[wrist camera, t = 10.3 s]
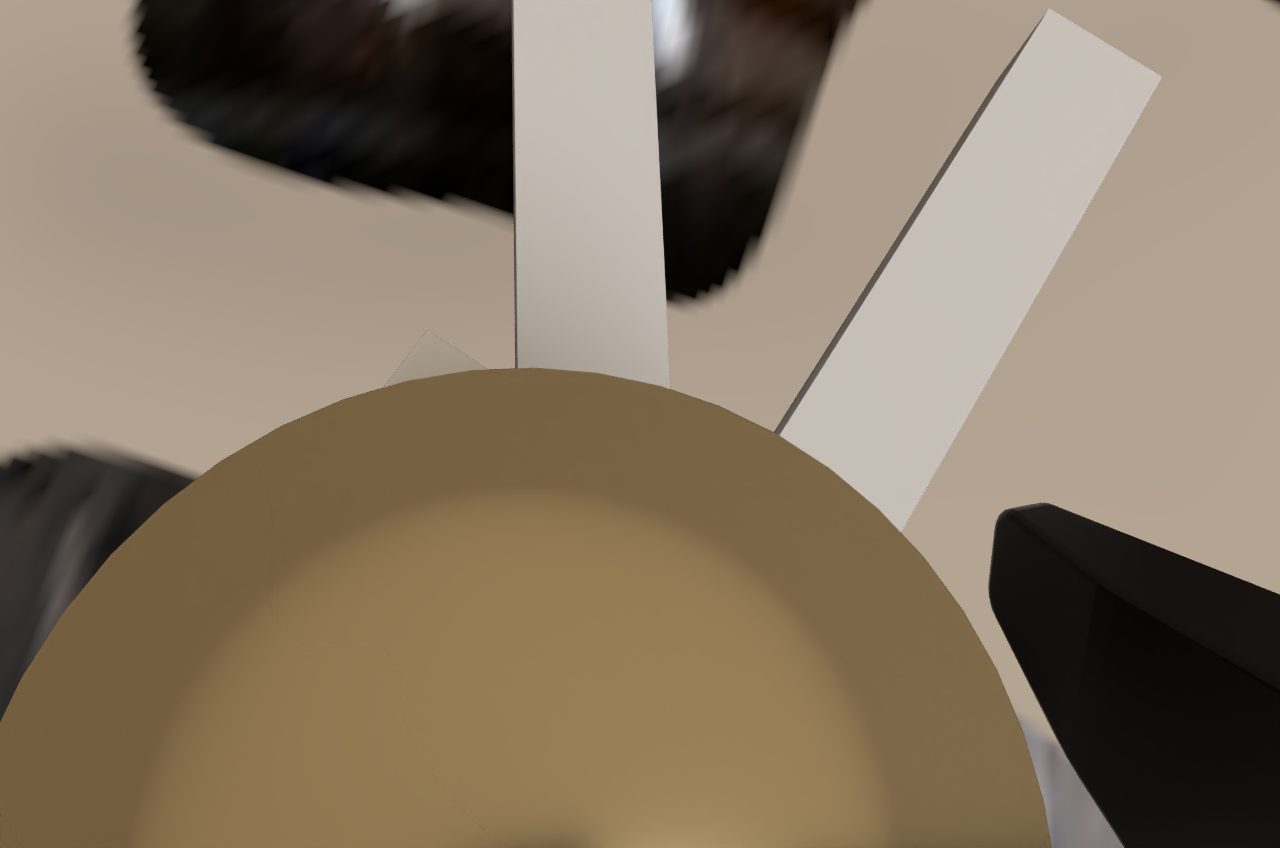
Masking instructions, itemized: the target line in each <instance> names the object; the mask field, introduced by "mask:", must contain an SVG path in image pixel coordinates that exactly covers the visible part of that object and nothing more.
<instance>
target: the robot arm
mask: <svg viewBox="0 0 1280 848" xmlns="http://www.w3.org/2000/svg"><path fill="white" fill-rule="evenodd" d="M988 589H989V598H990V603H991V606H992V610H993V612H994V614H995V617H996V619H997V621H998V623H999V625H1000V627H1001V629H1002V631H1003V633H1004V635H1005V637H1006V639H1007V641H1008V643H1009V645H1010V647H1011V649H1012V651H1013V653H1014V655H1015V657H1016V659H1017V661H1018V663H1019V665H1020V667H1021V669H1022V671H1023V673H1024V675H1025V677H1026V679H1027V681H1028V683H1029V685H1030V687H1031V689H1032V691H1033V692H1034V694H1035V697H1036V699H1037V701H1038V703H1039V704H1040V707H1041V708H1042V711H1043V713H1044V714H1045V717H1046V719H1047V721H1048V723H1049V725H1050V727H1051V729H1052V731H1053V733H1054V735H1055V736H1056V738H1057V740H1058V742H1059V744H1060V746H1061V748H1062V749H1063V751H1064V753H1065V755H1066V757H1067V759H1068V760H1069V762H1070V763H1071V765H1072V767H1073V768H1074V770H1075V772H1076V773H1077V775H1078V776H1079V778H1080V780H1081V781H1082V783H1083V784H1084V786H1085V788H1086V789H1087V791H1088V792H1089V794H1090V795H1091V797H1092V798H1093V800H1094V802H1095V803H1096V805H1097V806H1098V808H1099V809H1100V811H1101V812H1102V814H1103V815H1104V817H1105V819H1106V820H1107V822H1108V823H1109V825H1110V826H1111V828H1112V829H1113V831H1114V832H1115V834H1116V836H1117V837H1118V839H1119V840H1120V842H1121V843H1122V845H1123V846H1124V848H1280V595H1279V594H1277V593H1275V592H1272V591H1269V590H1267V589H1265V588H1262V587H1259V586H1257V585H1254V584H1252V583H1249V582H1247V581H1244V580H1242V579H1239V578H1236V577H1234V576H1232V575H1229V574H1227V573H1224V572H1221V571H1219V570H1216V569H1214V568H1211V567H1209V566H1206V565H1204V564H1201V563H1199V562H1196V561H1194V560H1191V559H1189V558H1186V557H1184V556H1181V555H1178V554H1176V553H1173V552H1171V551H1168V550H1166V549H1163V548H1161V547H1158V546H1156V545H1153V544H1150V543H1148V542H1145V541H1143V540H1140V539H1138V538H1135V537H1133V536H1130V535H1128V534H1125V533H1122V532H1120V531H1118V530H1115V529H1113V528H1110V527H1108V526H1105V525H1103V524H1100V523H1097V522H1095V521H1092V520H1090V519H1087V518H1085V517H1082V516H1080V515H1077V514H1075V513H1072V512H1069V511H1067V510H1064V509H1062V508H1059V507H1057V506H1054V505H1052V504H1049V503H1037V504H1031V505H1026V506H1021V507H1016V508H1010V509H1006V510H1005V511H1003V512H1002V513H1001V514H1000V515H999V516H998V519H997V521H996V525H995V531H994V540H993V548H992V557H991V567H990V575H989V588H988Z"/></svg>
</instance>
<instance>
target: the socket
mask: <svg viewBox="0 0 1280 848" xmlns="http://www.w3.org/2000/svg"><path fill="white" fill-rule="evenodd" d="M511 1H512V95H513V188H514V277H515V279H514V281H515V368H545V369H557V370H569V371H581V372H593V373H601V374H606V375H611V376H616V377H620V378H625V379H630V380H635V381H639V382H644V383H649V384H654V385H659V386H662V387H665V388H668V389H670V371H669V349H668V330H667V310H666V289H665V269H664V249H663V230H662V210H661V190H660V170H659V150H658V130H657V110H656V90H655V70H654V50H653V30H652V10H651V0H511ZM1161 78H1162V77H1161V76H1159V75H1158V74H1156V73H1155V72H1153V71H1151V70H1150V69H1148V68H1146V67H1145V66H1143V65H1141V64H1140V63H1138V62H1136V61H1135V60H1133V59H1131V58H1130V57H1128V56H1127V55H1125V54H1123V53H1122V52H1120V51H1118V50H1117V49H1115V48H1114V47H1112V46H1110V45H1109V44H1107V43H1105V42H1104V41H1102V40H1100V39H1099V38H1097V37H1096V36H1094V35H1092V34H1090V33H1089V32H1087V31H1085V30H1084V29H1082V28H1081V27H1079V26H1077V25H1076V24H1074V23H1072V22H1071V21H1069V20H1067V19H1066V18H1064V17H1063V16H1061V15H1059V14H1058V13H1056V12H1054V11H1053V10H1051V9H1050V8H1049V9H1048V11H1047V12H1046V13H1045V15H1044V16H1043V18H1042V19H1041V20H1040V22H1039V23H1038V24H1037V26H1036V27H1035V29H1034V30H1033V31H1032V33H1031V34H1030V36H1029V37H1028V38H1027V40H1026V41H1025V42H1024V44H1023V45H1022V47H1021V48H1020V49H1019V51H1018V52H1017V54H1016V55H1015V56H1014V58H1013V59H1012V61H1011V62H1010V63H1009V65H1008V66H1007V67H1006V69H1005V70H1004V72H1003V73H1002V74H1001V76H1000V77H999V78H998V80H997V81H996V83H995V84H994V86H993V87H992V89H991V91H990V92H989V94H988V95H987V97H986V99H985V100H984V102H983V103H982V105H981V106H980V108H979V109H978V111H977V113H976V114H975V116H974V117H973V119H972V121H971V122H970V124H969V125H968V127H967V128H966V130H965V132H964V133H963V135H962V136H961V138H960V139H959V141H958V143H957V144H956V146H955V147H954V149H953V151H952V152H951V154H950V155H949V157H948V158H947V160H946V162H945V163H944V165H943V166H942V168H941V170H940V171H939V173H938V174H937V176H936V177H935V179H934V180H933V182H932V184H931V185H930V187H929V188H928V190H927V191H926V193H925V195H924V196H923V198H922V199H921V201H920V203H919V204H918V206H917V207H916V209H915V210H914V212H913V214H912V215H911V217H910V218H909V220H908V222H907V223H906V225H905V226H904V228H903V230H902V231H901V233H900V234H899V236H898V237H897V239H896V241H895V242H894V244H893V245H892V247H891V248H890V250H889V252H888V253H887V255H886V256H885V258H884V259H883V261H882V262H881V264H880V266H879V267H878V269H877V270H876V272H875V273H874V275H873V277H872V278H871V280H870V281H869V283H868V285H867V286H866V288H865V289H864V291H863V292H862V294H861V296H860V297H859V299H858V300H857V302H856V303H855V305H854V307H853V308H852V310H851V312H850V313H849V315H848V316H847V318H846V319H845V321H844V323H843V324H842V326H841V327H840V329H839V330H838V332H837V333H836V335H835V337H834V338H833V340H832V341H831V343H830V345H829V346H828V348H827V349H826V351H825V352H824V354H823V356H822V357H821V359H820V360H819V362H818V363H817V365H816V367H815V368H814V370H813V371H812V373H811V374H810V376H809V378H808V379H807V381H806V382H805V384H804V386H803V387H802V389H801V390H800V392H799V393H798V395H797V397H796V398H795V400H794V401H793V403H792V404H791V406H790V408H789V410H788V411H787V412H786V414H785V416H784V417H783V419H782V420H781V422H780V424H779V425H778V427H777V428H776V430H775V431H774V433H776V434H778V435H779V436H781V437H782V438H784V439H785V440H787V441H788V442H790V443H792V444H793V445H795V446H796V447H798V448H799V449H801V450H802V451H804V452H805V453H807V454H808V455H810V456H812V457H813V458H815V459H816V460H818V461H819V462H821V463H822V464H824V465H825V466H827V467H829V468H830V469H831V470H832V471H834V472H835V473H836V474H837V475H838V476H840V477H841V478H842V479H843V480H844V481H846V482H847V483H848V484H849V485H850V486H852V487H853V488H854V489H855V490H856V491H858V492H859V493H860V494H861V495H862V496H864V497H865V498H866V499H867V500H868V501H870V502H871V503H872V504H873V505H874V506H875V507H877V508H878V509H879V510H880V511H881V512H882V513H883V514H884V515H885V516H886V517H887V518H888V519H889V521H890V522H891V523H892V524H893V525H894V526H895V527H896V528H897V529H898V530H899V531H900V532H901V531H902V530H903V528H904V526H905V524H906V523H907V521H908V519H909V517H910V516H911V513H912V512H913V510H914V509H915V507H916V505H917V503H918V501H919V500H920V498H921V496H922V494H923V493H924V491H925V489H926V488H927V486H928V484H929V483H930V481H931V479H932V477H933V476H934V474H935V472H936V470H937V469H938V467H939V465H940V463H941V462H942V460H943V458H944V456H945V455H946V453H947V451H948V449H949V448H950V446H951V444H952V442H953V441H954V439H955V437H956V435H957V434H958V432H959V430H960V428H961V427H962V425H963V423H964V421H965V420H966V418H967V416H968V415H969V413H970V411H971V409H972V408H973V406H974V404H975V402H976V401H977V399H978V397H979V395H980V394H981V392H982V390H983V388H984V387H985V385H986V383H987V381H988V380H989V378H990V376H991V374H992V373H993V371H994V369H995V367H996V366H997V364H998V362H999V361H1000V359H1001V357H1002V355H1003V353H1004V352H1005V350H1006V348H1007V347H1008V345H1009V343H1010V341H1011V340H1012V338H1013V336H1014V334H1015V333H1016V331H1017V329H1018V327H1019V326H1020V324H1021V322H1022V320H1023V319H1024V317H1025V315H1026V313H1027V312H1028V310H1029V308H1030V306H1031V305H1032V303H1033V301H1034V299H1035V298H1036V296H1037V294H1038V293H1039V291H1040V289H1041V287H1042V286H1043V284H1044V282H1045V280H1046V279H1047V277H1048V275H1049V273H1050V272H1051V270H1052V268H1053V266H1054V264H1055V263H1056V261H1057V259H1058V258H1059V256H1060V254H1061V252H1062V251H1063V249H1064V247H1065V245H1066V244H1067V242H1068V240H1069V238H1070V237H1071V235H1072V233H1073V232H1074V230H1075V228H1076V226H1077V224H1078V223H1079V221H1080V219H1081V217H1082V216H1083V214H1084V212H1085V211H1086V209H1087V207H1088V205H1089V204H1090V202H1091V200H1092V198H1093V197H1094V195H1095V193H1096V191H1097V190H1098V188H1099V186H1100V184H1101V183H1102V181H1103V179H1104V177H1105V176H1106V174H1107V172H1108V171H1109V169H1110V167H1111V165H1112V163H1113V162H1114V160H1115V158H1116V156H1117V155H1118V153H1119V151H1120V150H1121V148H1122V146H1123V144H1124V143H1125V141H1126V139H1127V137H1128V136H1129V134H1130V132H1131V130H1132V129H1133V127H1134V125H1135V123H1136V121H1137V120H1138V118H1139V116H1140V115H1141V113H1142V111H1143V109H1144V108H1145V106H1146V104H1147V103H1148V101H1149V99H1150V97H1151V95H1152V94H1153V92H1154V90H1155V88H1156V87H1157V85H1158V83H1159V82H1160V80H1161ZM470 370H488V369H486V368H485V367H483V366H482V365H480V364H479V363H477V362H476V361H474V360H473V359H471V358H470V357H468V356H467V355H465V354H464V353H462V352H461V351H459V350H458V349H456V348H454V347H453V346H451V345H450V344H448V343H447V342H445V341H444V340H442V339H441V338H439V337H438V336H436V335H435V334H433V333H432V332H430V331H429V330H427V331H426V333H425V334H424V335H423V337H422V338H421V340H420V341H419V342H418V343H417V345H416V346H415V347H414V348H413V350H412V351H411V352H410V354H409V355H408V356H407V357H406V359H405V360H404V362H403V363H402V364H401V365H400V367H399V368H398V369H397V371H396V372H395V373H394V374H393V376H392V377H391V378H390V380H389V381H388V382H387V383H386V385H385V386H384V387H388V386H391V385H394V384H398V383H401V382H405V381H409V380H415V379H421V378H427V377H433V376H439V375H445V374H451V373H458V372H464V371H470ZM384 387H383V388H384Z"/></svg>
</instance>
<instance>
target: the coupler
mask: <svg viewBox="0 0 1280 848" xmlns="http://www.w3.org/2000/svg"><path fill="white" fill-rule="evenodd" d="M0 848H1052V846H1051V841H1050V835H1049V829H1048V823H1047V817H1046V811H1045V805H1044V800H1043V797H1042V794H1041V790H1040V787H1039V783H1038V780H1037V776H1036V773H1035V770H1034V766H1033V763H1032V759H1031V756H1030V753H1029V749H1028V746H1027V742H1026V739H1025V735H1024V732H1023V730H1022V728H1021V725H1020V723H1019V721H1018V718H1017V716H1016V714H1015V711H1014V709H1013V706H1012V704H1011V702H1010V699H1009V697H1008V695H1007V692H1006V690H1005V688H1004V685H1003V683H1002V681H1001V678H1000V676H999V673H998V671H997V669H996V667H995V665H994V664H993V662H992V660H991V658H990V657H989V655H988V653H987V651H986V650H985V648H984V646H983V645H982V643H981V641H980V639H979V637H978V636H977V634H976V632H975V630H974V629H973V627H972V625H971V623H970V621H969V620H968V618H967V616H966V615H965V613H964V611H963V610H962V608H961V607H960V605H959V604H958V603H957V601H956V600H955V599H954V597H953V596H952V595H951V593H950V592H949V591H948V589H947V588H946V586H944V584H943V582H942V581H941V580H940V578H939V577H938V576H937V574H936V573H935V572H934V570H933V569H932V567H931V566H930V565H929V563H928V562H927V561H926V559H925V558H924V557H923V556H922V555H921V554H920V552H919V551H918V550H917V549H916V548H915V547H914V546H913V545H912V544H911V543H910V542H909V541H908V540H907V539H906V538H905V537H904V535H903V534H902V533H901V532H900V531H899V530H898V529H897V528H896V527H895V526H894V525H893V524H892V523H891V522H890V521H889V519H888V518H887V517H886V516H885V515H884V514H883V513H882V512H881V511H880V510H879V509H878V508H877V507H875V506H874V505H873V504H872V503H871V502H870V501H868V500H867V499H866V498H865V497H864V496H862V495H861V494H860V493H859V492H858V491H856V490H855V489H854V488H853V487H852V486H850V485H849V484H848V483H847V482H846V481H844V480H843V479H842V478H841V477H840V476H838V475H837V474H836V473H835V472H834V471H832V470H831V469H830V468H829V467H827V466H825V465H824V464H822V463H821V462H819V461H818V460H816V459H815V458H813V457H812V456H810V455H808V454H807V453H805V452H804V451H802V450H801V449H799V448H798V447H796V446H795V445H793V444H792V443H790V442H788V441H787V440H785V439H784V438H782V437H781V436H779V435H778V434H776V433H774V432H772V431H770V430H767V429H765V428H763V427H761V426H759V425H757V424H755V423H753V422H751V421H749V420H747V419H745V418H743V417H741V416H739V415H737V414H735V413H733V412H731V411H729V410H727V409H725V408H722V407H720V406H718V405H715V404H712V403H709V402H706V401H703V400H700V399H697V398H694V397H691V396H688V395H686V394H682V393H679V392H677V391H674V390H671V389H668V388H665V387H662V386H659V385H654V384H649V383H644V382H639V381H635V380H630V379H625V378H620V377H616V376H611V375H606V374H601V373H593V372H581V371H569V370H557V369H545V368H515V369H491V370H470V371H464V372H458V373H451V374H445V375H439V376H433V377H427V378H421V379H415V380H409V381H405V382H401V383H398V384H394V385H391V386H388V387H384V388H381V389H377V390H374V391H370V392H367V393H364V394H360V395H357V396H354V397H350V398H346V399H343V400H341V401H339V402H336V403H334V404H331V405H329V406H327V407H325V408H322V409H320V410H318V411H315V412H313V413H311V414H309V415H306V416H304V417H301V418H299V419H297V420H295V421H292V422H290V423H287V424H285V425H283V426H280V427H279V428H277V429H275V430H274V431H272V432H270V433H268V434H267V435H265V436H263V437H262V438H260V439H258V440H256V441H255V442H253V443H251V444H249V445H248V446H246V447H244V448H243V449H241V450H239V451H238V452H236V453H234V454H232V455H230V456H229V457H227V458H225V459H224V460H222V461H221V462H219V463H218V464H216V465H215V466H214V467H212V468H211V469H210V470H208V471H207V472H206V473H204V474H203V475H202V476H200V477H199V478H198V479H196V480H195V481H194V482H192V483H191V484H190V485H188V486H187V487H186V488H184V489H183V490H182V491H180V492H179V493H178V494H176V495H175V496H174V497H172V498H171V499H170V500H168V501H167V502H166V503H165V504H163V505H162V506H161V507H160V508H159V509H158V510H157V511H156V512H155V513H154V514H153V515H152V516H151V517H150V518H149V519H148V520H147V521H146V522H145V523H143V524H142V525H141V526H140V527H139V528H138V529H137V530H136V531H135V532H134V533H133V534H132V535H131V536H130V537H129V538H128V539H127V540H126V541H125V542H124V543H123V544H122V545H121V546H120V547H118V548H117V549H116V550H115V551H114V552H113V553H112V554H111V555H110V556H109V558H108V559H107V560H106V561H105V563H104V564H103V565H102V566H101V567H100V569H99V570H98V571H97V572H96V574H95V575H94V576H93V577H92V578H91V580H90V581H89V582H88V583H87V584H86V586H85V587H84V588H83V589H82V591H81V592H80V593H79V594H78V595H77V597H76V598H75V599H74V600H73V602H72V603H71V604H70V605H69V606H68V608H67V609H66V610H65V611H64V612H63V614H62V615H61V617H60V619H59V620H58V622H57V623H56V625H55V626H54V628H53V630H52V631H51V633H50V634H49V636H48V637H47V639H46V641H45V642H44V644H43V645H42V647H41V648H40V650H39V651H38V653H37V655H36V656H35V658H34V659H33V661H32V662H31V664H30V666H29V667H28V669H27V670H26V672H25V673H24V675H23V677H22V678H21V680H20V682H19V684H18V686H17V689H16V691H15V693H14V695H13V697H12V699H11V701H10V703H9V705H8V707H7V709H6V711H5V713H4V715H3V718H2V720H1V722H0Z"/></svg>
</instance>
